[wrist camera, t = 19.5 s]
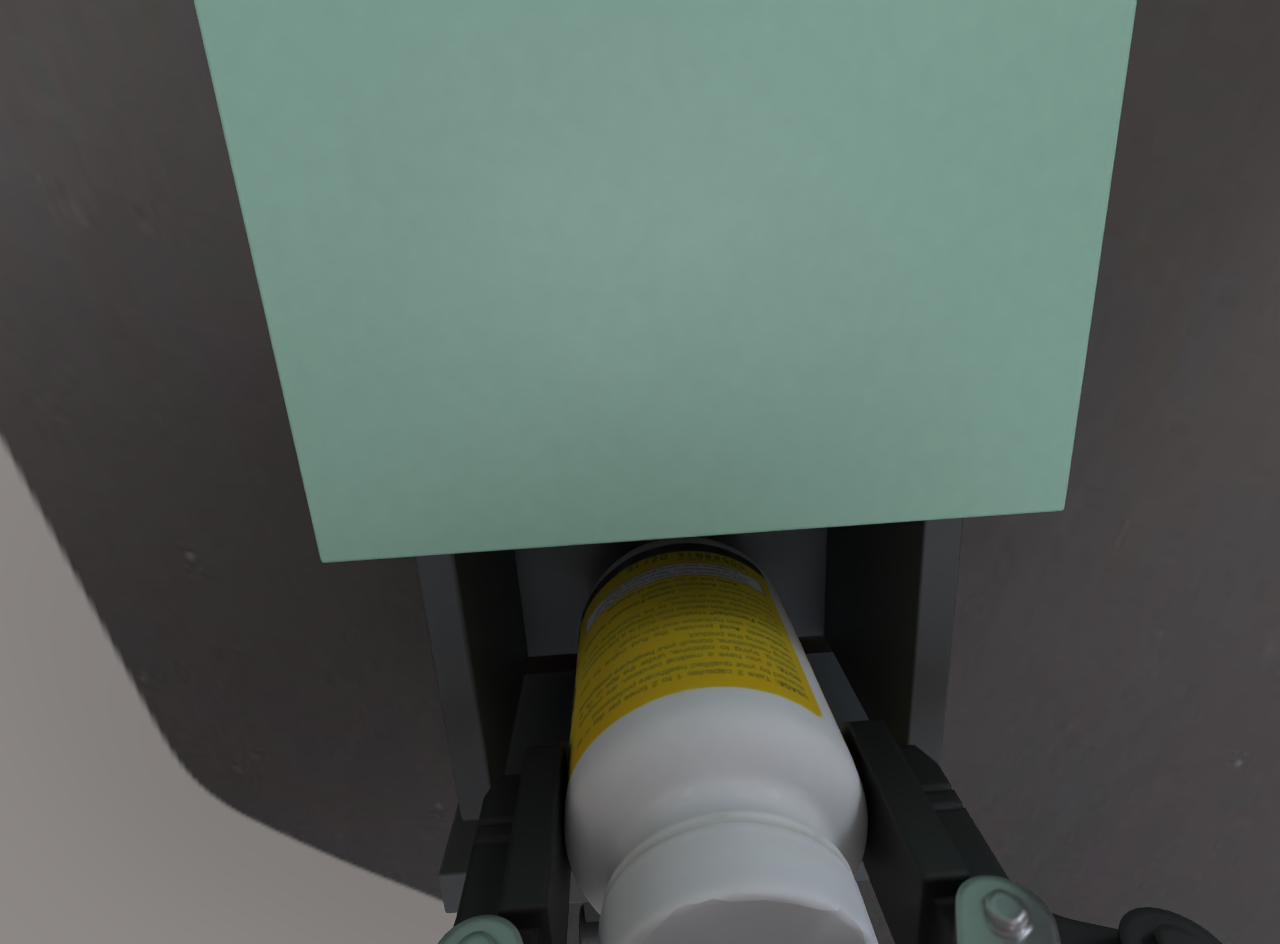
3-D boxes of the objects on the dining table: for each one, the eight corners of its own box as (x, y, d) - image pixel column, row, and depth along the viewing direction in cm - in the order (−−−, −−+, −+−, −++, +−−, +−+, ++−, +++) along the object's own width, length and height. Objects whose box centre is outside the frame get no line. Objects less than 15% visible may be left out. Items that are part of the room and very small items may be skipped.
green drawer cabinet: (877, 398, 22) (1065, 511, 13) (443, 428, 22) (320, 564, 13) (908, -231, 17) (1252, -779, 8) (345, -202, 17) (24, -729, 8)
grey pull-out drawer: (850, 801, 26) (946, 1027, 18) (514, 827, 26) (475, 1066, 18) (875, 237, 19) (1037, 235, 12) (430, 265, 19) (317, 281, 12)
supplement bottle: (539, 598, 18) (464, 966, 9) (715, 492, 18) (831, 774, 8) (648, 739, 20) (680, 1175, 11) (815, 646, 19) (1006, 1030, 10)
